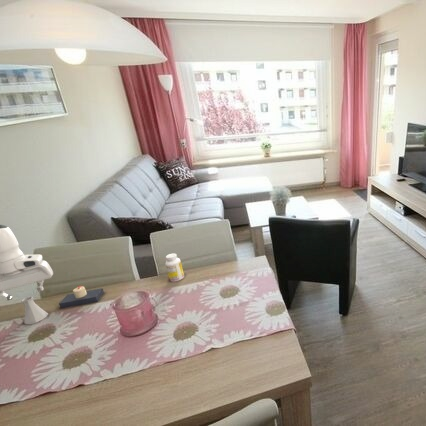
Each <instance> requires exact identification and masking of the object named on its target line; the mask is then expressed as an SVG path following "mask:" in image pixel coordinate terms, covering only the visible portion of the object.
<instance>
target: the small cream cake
mask: <svg viewBox="0 0 426 426" xmlns="http://www.w3.org/2000/svg"><path fill="white" fill-rule="evenodd" d="M86 291H87V290H86V288H85V286H83V285H79V286H77V287H75V288H74V289H72V293H74V295H75V297H76V298H81V297H84V296H85V295H86V294H87V293H86Z"/></svg>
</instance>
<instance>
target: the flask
mask: <svg viewBox="0 0 426 426" xmlns="http://www.w3.org/2000/svg"><path fill="white" fill-rule="evenodd" d="M21 303H23V305H24V317H23V324H25V325H32V324H37V323H38V322H41V321H42V320H44V319H45V318H46V317H48V315H49V313H48V312H47V311H45V310H44V309H43V308H41V307H40V306H39V305H38V304H36V302H35V301H34V297H33V296H26V297H25V298H23V299H22V300H21Z"/></svg>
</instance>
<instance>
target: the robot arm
mask: <svg viewBox="0 0 426 426" xmlns="http://www.w3.org/2000/svg"><path fill="white" fill-rule="evenodd" d="M53 276H54V271H53V269H52V267H51V266H50V264H49V262H47V260H44V259H43V255H42V254H39V253H38V254H35V253H34V254H25V253H24V252H23V251H22V250H21V248H20V244H19V241H18V239H17V237H16V235H15V234H14V232H13V230H12V229H11V228H10V227H9V226H7V225H4V224H0V297H2V298H3V299H5V301H7V302H8V301H11V300H12V299H13V296H12V293H9V294H8V293H6V291H9V290H13V289H17V288H20V287H23V286H27V285H31V284H35V283H38V284H39V285H38V286H36V290H37V292H38V293H39V292H43V291H44V289H45V287H44V286H43V285H44V282H45V280H49V279H52V277H53Z"/></svg>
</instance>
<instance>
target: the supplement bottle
mask: <svg viewBox="0 0 426 426" xmlns="http://www.w3.org/2000/svg"><path fill="white" fill-rule="evenodd" d="M165 260H166V261H165V265H164V266H165V268H166V271H167V275H168V278H169V281H170V282H178V281H181V280H182V279H184V278H185V272H184V269H183V265H182V261H181V259H180V258H179V257H178V255H177V253H169V254H167V255H166V256H165Z"/></svg>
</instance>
